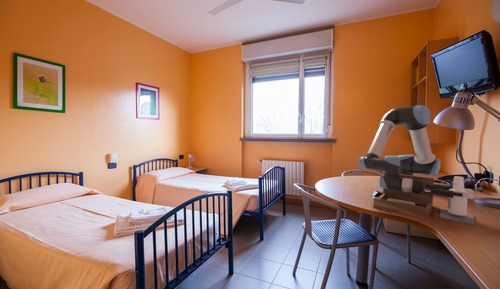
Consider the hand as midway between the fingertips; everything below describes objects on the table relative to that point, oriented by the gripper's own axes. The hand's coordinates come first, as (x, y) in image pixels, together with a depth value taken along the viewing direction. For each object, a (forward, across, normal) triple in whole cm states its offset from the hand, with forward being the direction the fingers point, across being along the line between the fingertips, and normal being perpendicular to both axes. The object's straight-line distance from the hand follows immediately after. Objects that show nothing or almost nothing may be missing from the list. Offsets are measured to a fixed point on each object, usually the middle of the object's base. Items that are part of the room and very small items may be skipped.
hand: (472, 194), depth 103 cm
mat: (-5, 0, -12) cm, 13 cm away
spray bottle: (-5, 0, -11) cm, 12 cm away
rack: (-27, 0, -12) cm, 30 cm away
